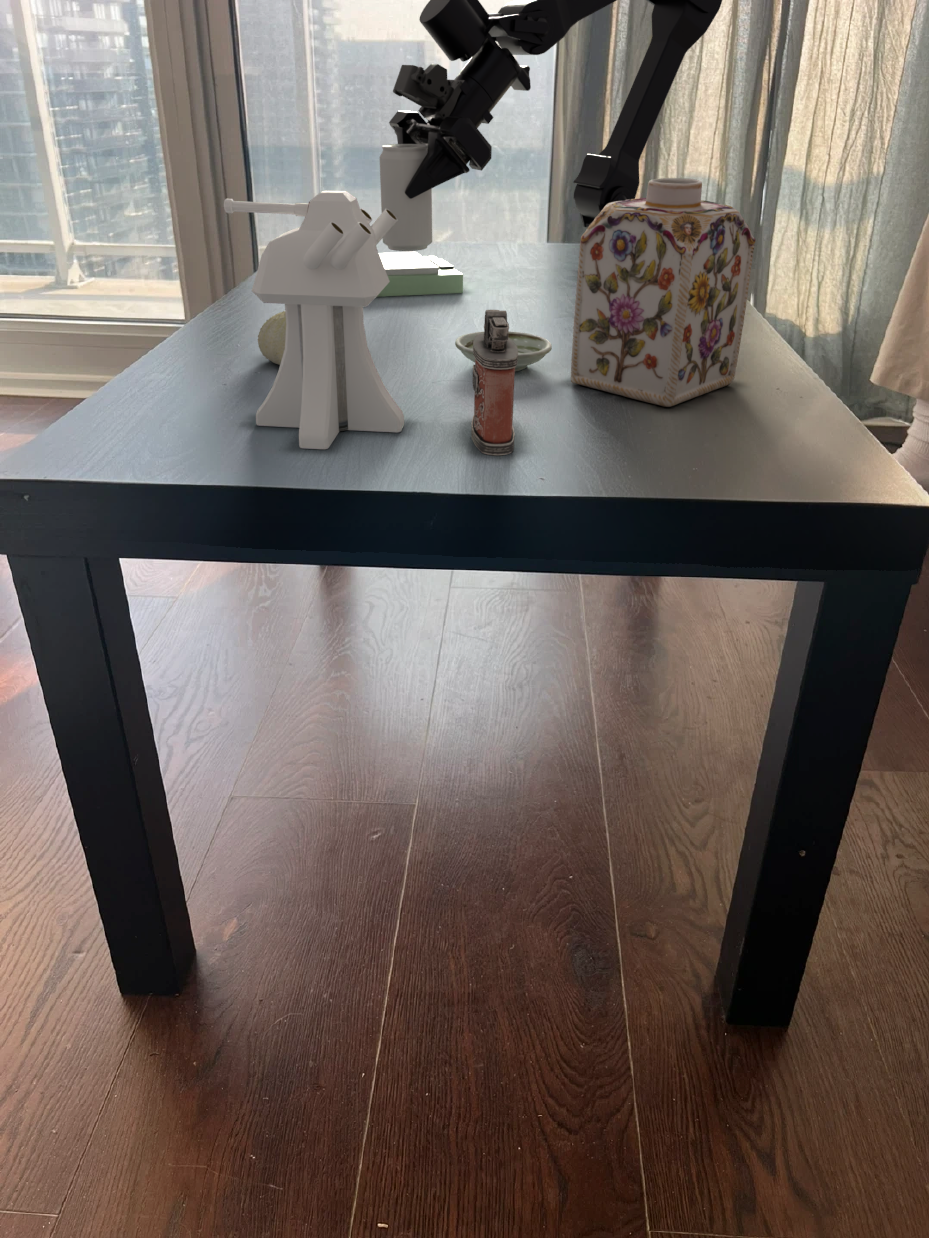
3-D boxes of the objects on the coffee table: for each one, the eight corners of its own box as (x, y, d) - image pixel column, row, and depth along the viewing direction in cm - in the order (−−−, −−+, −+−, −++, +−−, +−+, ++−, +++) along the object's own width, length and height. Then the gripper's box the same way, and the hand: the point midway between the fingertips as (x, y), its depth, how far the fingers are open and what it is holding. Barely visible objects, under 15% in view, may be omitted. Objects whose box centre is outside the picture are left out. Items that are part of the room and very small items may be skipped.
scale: (434, 273, 141) (434, 250, 139) (462, 293, 129) (463, 267, 128) (324, 277, 137) (323, 253, 135) (343, 298, 125) (342, 272, 124)
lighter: (467, 422, 83) (469, 301, 78) (506, 422, 83) (511, 301, 78) (476, 455, 76) (479, 324, 71) (519, 455, 76) (525, 324, 71)
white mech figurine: (265, 399, 88) (247, 180, 79) (413, 406, 86) (410, 185, 78) (224, 444, 77) (196, 198, 68) (390, 452, 76) (384, 203, 67)
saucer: (534, 383, 93) (536, 358, 92) (440, 372, 96) (440, 347, 95) (561, 359, 101) (563, 335, 100) (473, 349, 104) (474, 326, 103)
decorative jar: (737, 385, 94) (769, 181, 85) (671, 410, 87) (698, 190, 78) (634, 361, 101) (653, 170, 92) (564, 383, 94) (578, 178, 85)
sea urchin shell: (368, 332, 101) (342, 286, 94) (347, 400, 100) (320, 358, 92) (289, 324, 104) (258, 278, 97) (268, 390, 102) (234, 348, 95)
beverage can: (442, 247, 126) (441, 144, 120) (408, 254, 122) (406, 147, 116) (406, 242, 130) (404, 142, 124) (372, 248, 126) (368, 144, 120)
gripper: (401, 38, 123) (324, 138, 124) (469, 37, 109) (381, 150, 110) (457, 108, 130) (383, 202, 131) (528, 115, 116) (444, 220, 117)
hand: (396, 193), depth 122 cm, fingers closed on beverage can, 6 cm apart
